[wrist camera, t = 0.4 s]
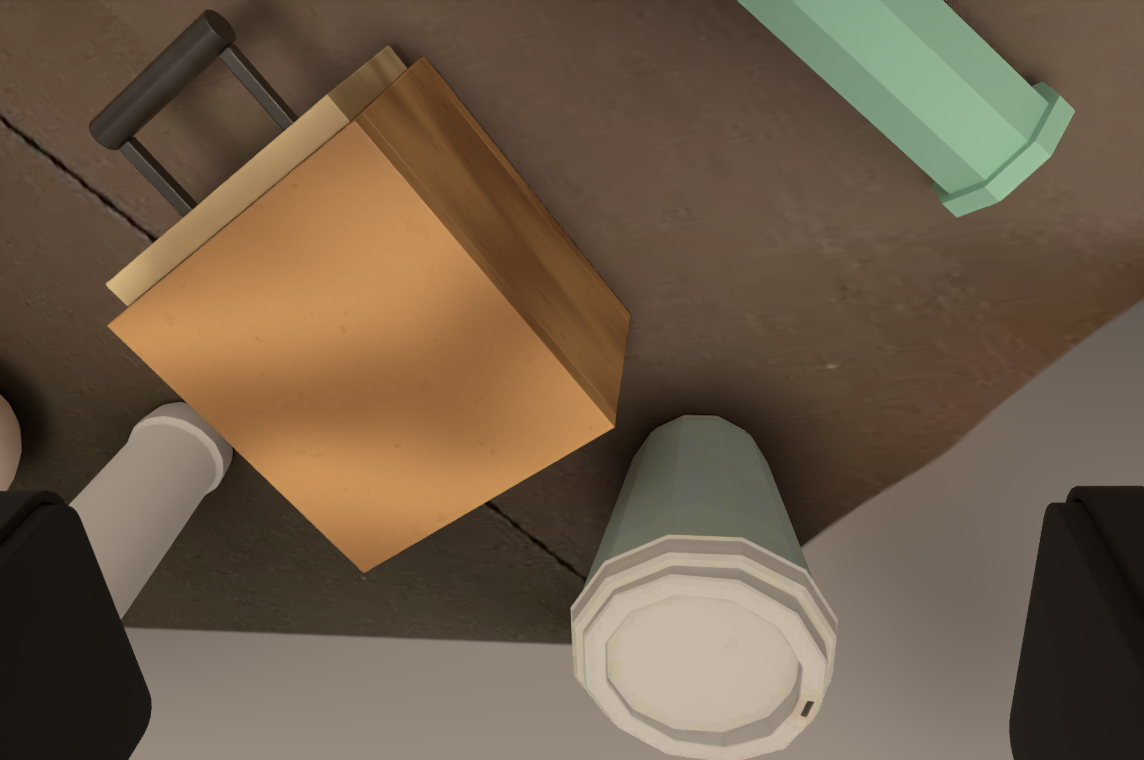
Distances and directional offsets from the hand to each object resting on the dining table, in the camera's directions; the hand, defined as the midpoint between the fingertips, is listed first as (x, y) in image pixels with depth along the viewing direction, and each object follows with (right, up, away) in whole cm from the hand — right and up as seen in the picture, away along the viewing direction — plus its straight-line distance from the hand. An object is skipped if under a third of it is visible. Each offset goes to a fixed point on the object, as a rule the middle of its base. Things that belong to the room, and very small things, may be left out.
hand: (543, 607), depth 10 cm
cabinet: (-7, +7, +38) cm, 39 cm away
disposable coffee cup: (+7, -2, +41) cm, 42 cm away
